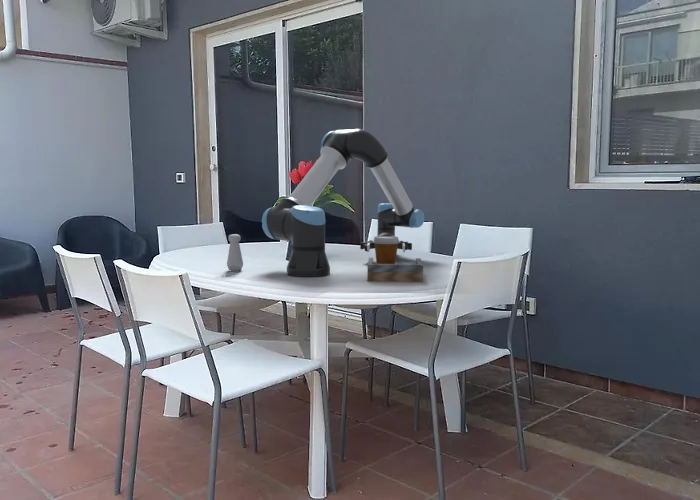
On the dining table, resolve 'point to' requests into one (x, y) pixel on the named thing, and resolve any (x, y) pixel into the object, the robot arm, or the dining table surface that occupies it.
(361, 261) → the dining table surface
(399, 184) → the robot arm
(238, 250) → the salt shaker
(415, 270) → the dock
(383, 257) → the disposable coffee cup
